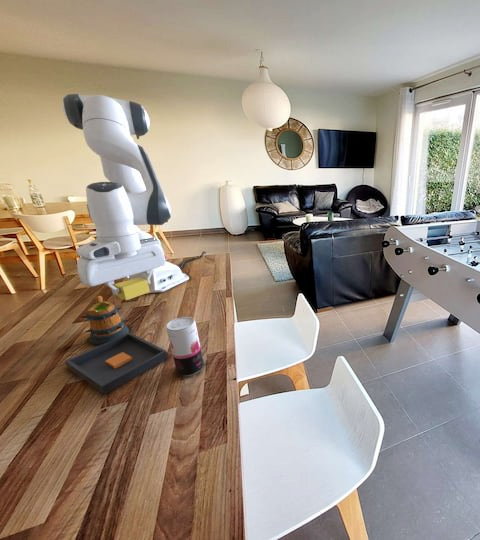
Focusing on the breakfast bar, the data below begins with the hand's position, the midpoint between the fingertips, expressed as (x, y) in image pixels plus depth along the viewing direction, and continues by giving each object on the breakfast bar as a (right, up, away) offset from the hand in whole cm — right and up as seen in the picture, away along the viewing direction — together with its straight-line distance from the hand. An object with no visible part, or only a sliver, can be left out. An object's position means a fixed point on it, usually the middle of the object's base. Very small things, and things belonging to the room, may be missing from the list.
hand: (132, 288), depth 84 cm
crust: (-1, -20, -4) cm, 21 cm away
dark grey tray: (-1, -21, -3) cm, 21 cm away
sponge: (0, -2, +1) cm, 2 cm away
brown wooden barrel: (-14, -15, +9) cm, 23 cm away
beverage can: (+20, -22, -4) cm, 30 cm away
